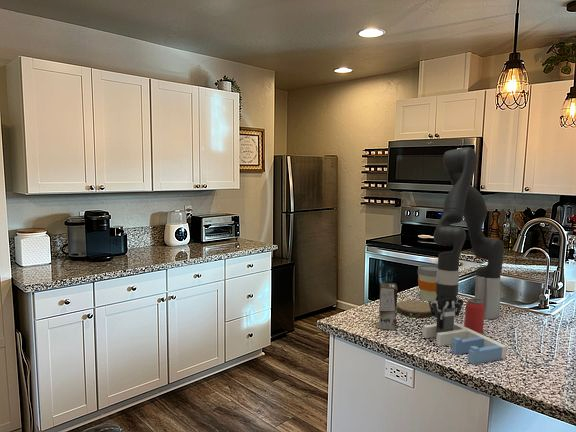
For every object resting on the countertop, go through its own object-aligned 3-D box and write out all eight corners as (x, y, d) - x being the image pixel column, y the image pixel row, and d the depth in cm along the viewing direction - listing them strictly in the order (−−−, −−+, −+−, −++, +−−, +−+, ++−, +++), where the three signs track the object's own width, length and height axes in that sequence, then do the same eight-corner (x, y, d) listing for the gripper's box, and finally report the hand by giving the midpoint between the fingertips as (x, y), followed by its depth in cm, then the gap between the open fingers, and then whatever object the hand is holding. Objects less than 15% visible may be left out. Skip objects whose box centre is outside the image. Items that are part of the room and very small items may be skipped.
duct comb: (452, 331, 162) (453, 318, 162) (506, 358, 139) (507, 343, 139) (422, 336, 157) (423, 323, 157) (472, 364, 134) (473, 349, 134)
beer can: (482, 329, 165) (484, 299, 164) (484, 335, 159) (485, 304, 157) (463, 327, 167) (465, 297, 166) (464, 333, 161) (466, 302, 159)
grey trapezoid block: (445, 336, 157) (446, 304, 156) (453, 340, 154) (454, 307, 152) (436, 337, 156) (437, 305, 155) (443, 341, 152) (445, 309, 151)
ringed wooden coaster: (400, 304, 195) (400, 298, 195) (436, 309, 188) (437, 303, 188) (393, 315, 181) (393, 308, 180) (432, 321, 174) (433, 314, 174)
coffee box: (396, 330, 163) (397, 289, 161) (379, 329, 164) (380, 288, 162) (395, 322, 172) (396, 283, 170) (378, 320, 173) (380, 282, 171)
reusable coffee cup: (440, 304, 196) (441, 272, 194) (413, 299, 202) (414, 268, 201) (446, 297, 206) (448, 267, 204) (420, 293, 213) (421, 263, 211)
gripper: (455, 277, 159) (453, 322, 160) (424, 280, 154) (422, 326, 155) (470, 282, 152) (468, 329, 153) (438, 285, 147) (436, 334, 148)
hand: (445, 327), depth 154 cm, fingers closed on grey trapezoid block, 4 cm apart
